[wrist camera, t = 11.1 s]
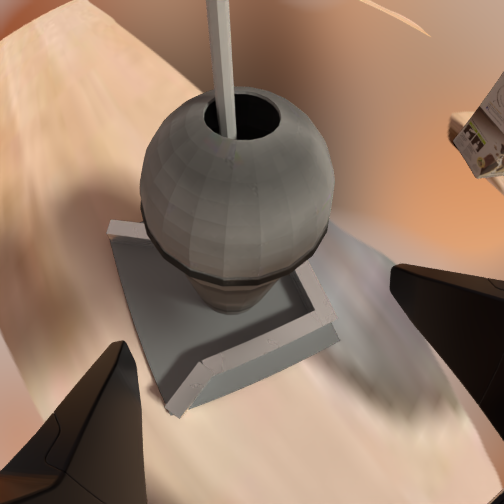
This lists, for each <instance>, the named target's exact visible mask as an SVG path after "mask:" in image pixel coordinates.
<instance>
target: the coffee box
mask: <svg viewBox="0 0 504 504" xmlns="http://www.w3.org/2000/svg"><path fill="white" fill-rule="evenodd" d="M453 142H454V144H455V145H456V147H457V148H458V150H459V151H460V153H461V155H462V156H463V158H464V159H465V161H466V163H467V164H468V166H469V168H470V169H471V171H472V173H473V174H474V176H475V177H476V178H477V179H478V178H487V177H495V176H504V72H503V73H502V75H501V76H500V78H499V79H498V81H497V82H496V84H495V85H494V87H493V88H492V89H491V91H490V92H489V93H488V95H487V96H486V98H485V99H484V100H483V102H482V103H481V105H480V106H479V107H478V109H477V110H476V111H475V113H474V114H473V115H472V117H471V118H470V120H469V121H468V122H467V123H466V125H465V126H464V127H463V129H462V130H461V131H460V133H459V134H458V135H457V136H456V138H455V139H454V140H453Z"/></svg>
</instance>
